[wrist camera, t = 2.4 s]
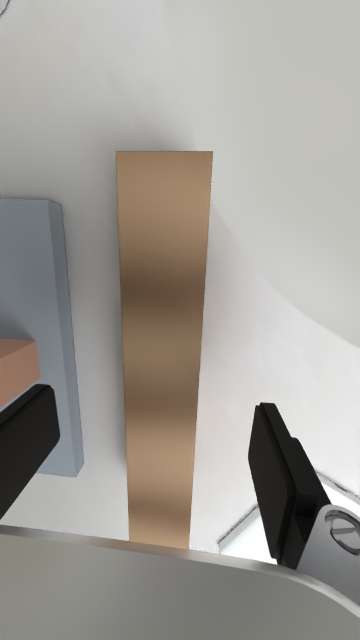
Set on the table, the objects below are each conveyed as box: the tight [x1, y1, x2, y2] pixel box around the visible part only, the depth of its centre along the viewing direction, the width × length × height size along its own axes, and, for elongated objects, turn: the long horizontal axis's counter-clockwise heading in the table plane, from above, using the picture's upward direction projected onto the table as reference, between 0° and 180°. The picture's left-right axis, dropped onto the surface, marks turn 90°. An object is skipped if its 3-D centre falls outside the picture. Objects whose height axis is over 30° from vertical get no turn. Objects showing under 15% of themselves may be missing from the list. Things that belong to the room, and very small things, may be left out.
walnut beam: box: [116, 151, 213, 549], centre depth 15 cm, size 24×4×6 cm, turn 178°
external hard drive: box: [219, 472, 360, 565], centre depth 21 cm, size 2×8×12 cm
